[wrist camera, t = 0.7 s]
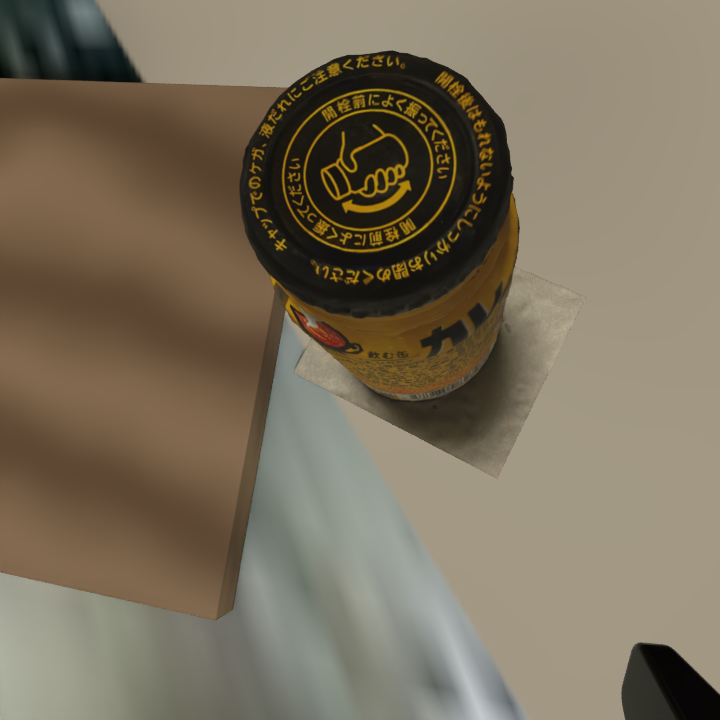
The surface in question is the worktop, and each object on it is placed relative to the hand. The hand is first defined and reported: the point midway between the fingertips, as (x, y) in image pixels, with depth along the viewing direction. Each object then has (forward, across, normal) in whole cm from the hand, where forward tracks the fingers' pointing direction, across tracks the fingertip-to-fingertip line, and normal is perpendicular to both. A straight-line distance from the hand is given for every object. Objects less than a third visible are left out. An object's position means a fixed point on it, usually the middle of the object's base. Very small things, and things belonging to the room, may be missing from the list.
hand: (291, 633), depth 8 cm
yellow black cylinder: (+15, -2, +1) cm, 16 cm away
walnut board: (+16, +12, +2) cm, 20 cm away
